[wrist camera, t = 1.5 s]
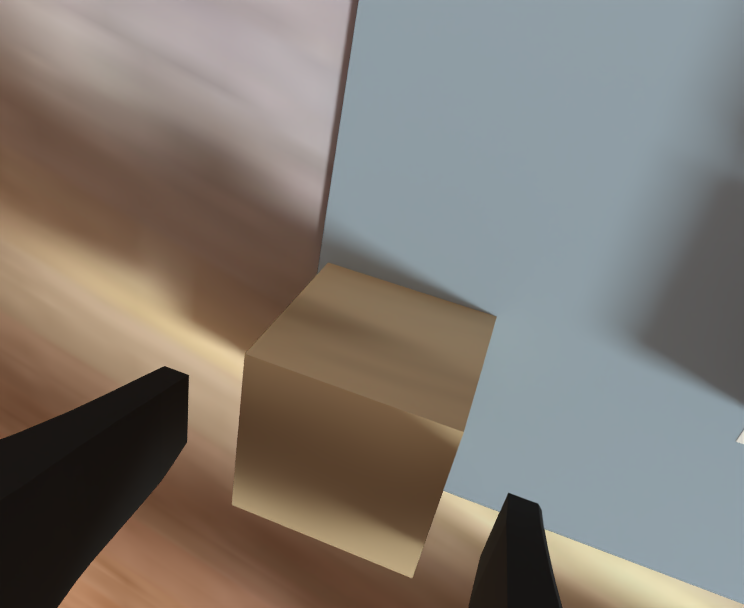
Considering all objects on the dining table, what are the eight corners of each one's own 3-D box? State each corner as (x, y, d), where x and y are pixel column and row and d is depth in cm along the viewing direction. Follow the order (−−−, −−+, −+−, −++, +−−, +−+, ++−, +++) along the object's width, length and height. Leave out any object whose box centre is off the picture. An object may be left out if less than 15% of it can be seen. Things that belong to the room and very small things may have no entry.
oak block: (452, 447, 17) (412, 578, 14) (307, 394, 18) (231, 505, 14) (496, 316, 15) (463, 432, 11) (327, 262, 16) (244, 353, 12)
